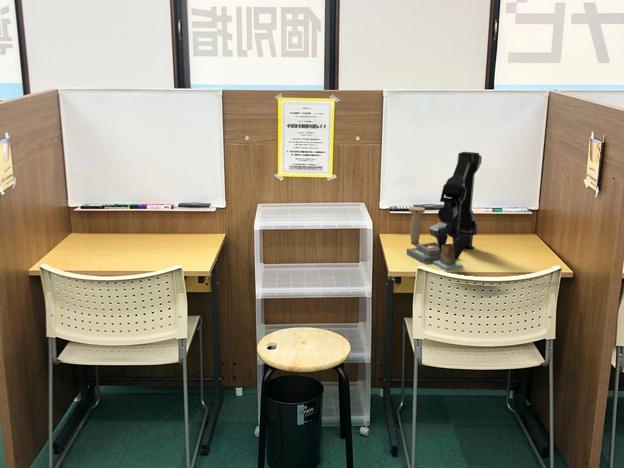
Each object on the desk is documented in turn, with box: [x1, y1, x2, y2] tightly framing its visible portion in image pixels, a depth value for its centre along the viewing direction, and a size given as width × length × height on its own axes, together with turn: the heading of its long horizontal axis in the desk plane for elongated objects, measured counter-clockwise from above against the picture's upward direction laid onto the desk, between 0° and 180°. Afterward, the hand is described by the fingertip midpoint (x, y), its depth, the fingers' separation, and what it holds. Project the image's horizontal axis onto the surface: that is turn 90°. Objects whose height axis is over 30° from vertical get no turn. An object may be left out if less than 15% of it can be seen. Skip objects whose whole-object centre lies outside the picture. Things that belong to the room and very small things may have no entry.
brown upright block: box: [440, 243, 457, 265], centre depth 254 cm, size 4×4×7 cm
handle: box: [408, 206, 426, 245], centre depth 280 cm, size 5×6×15 cm
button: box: [427, 245, 438, 249], centre depth 266 cm, size 4×4×4 cm
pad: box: [432, 260, 464, 271], centre depth 255 cm, size 8×8×1 cm
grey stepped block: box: [406, 241, 441, 264], centre depth 266 cm, size 16×12×4 cm
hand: (448, 255), depth 254 cm, fingers open, 9 cm apart
